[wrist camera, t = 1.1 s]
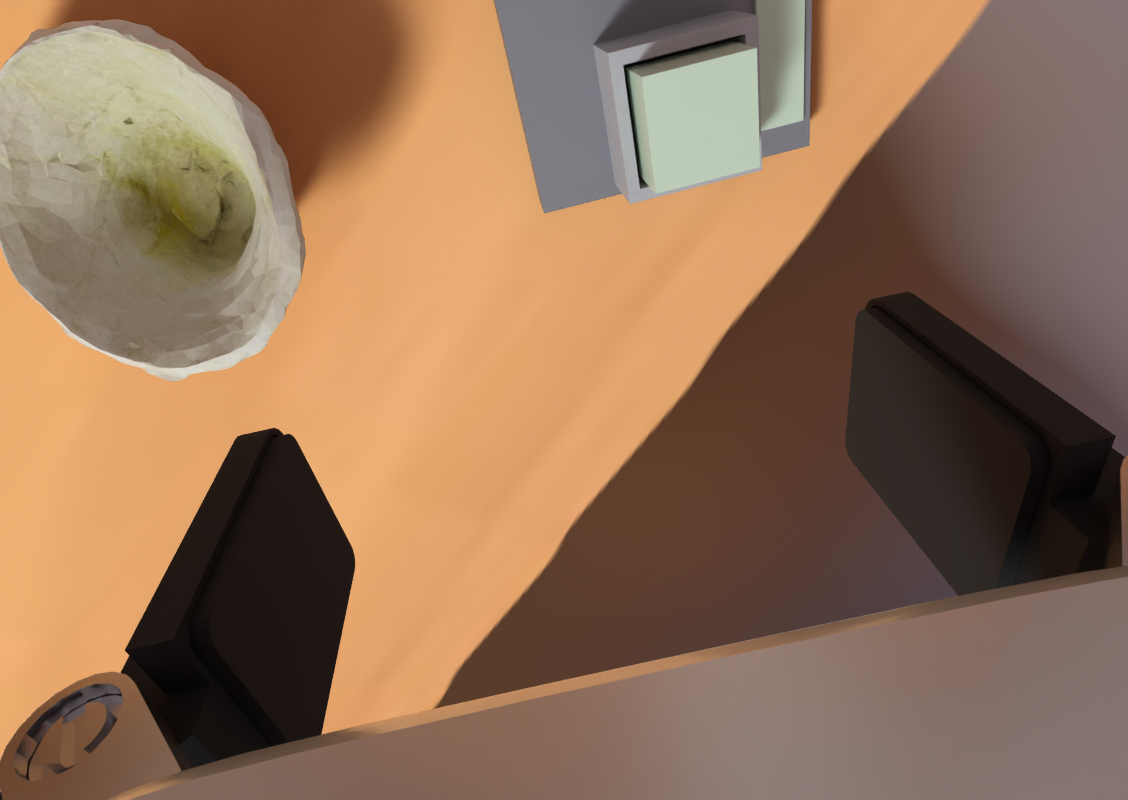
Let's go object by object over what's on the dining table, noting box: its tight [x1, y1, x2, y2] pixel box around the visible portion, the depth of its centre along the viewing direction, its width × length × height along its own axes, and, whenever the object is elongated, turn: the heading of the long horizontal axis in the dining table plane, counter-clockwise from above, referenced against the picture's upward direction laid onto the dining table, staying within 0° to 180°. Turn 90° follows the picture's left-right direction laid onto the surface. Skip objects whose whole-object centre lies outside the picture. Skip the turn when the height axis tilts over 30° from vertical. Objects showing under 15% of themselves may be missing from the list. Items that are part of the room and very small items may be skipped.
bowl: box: [0, 19, 306, 382], centre depth 29 cm, size 15×14×10 cm
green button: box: [626, 41, 760, 194], centre depth 30 cm, size 5×5×3 cm
